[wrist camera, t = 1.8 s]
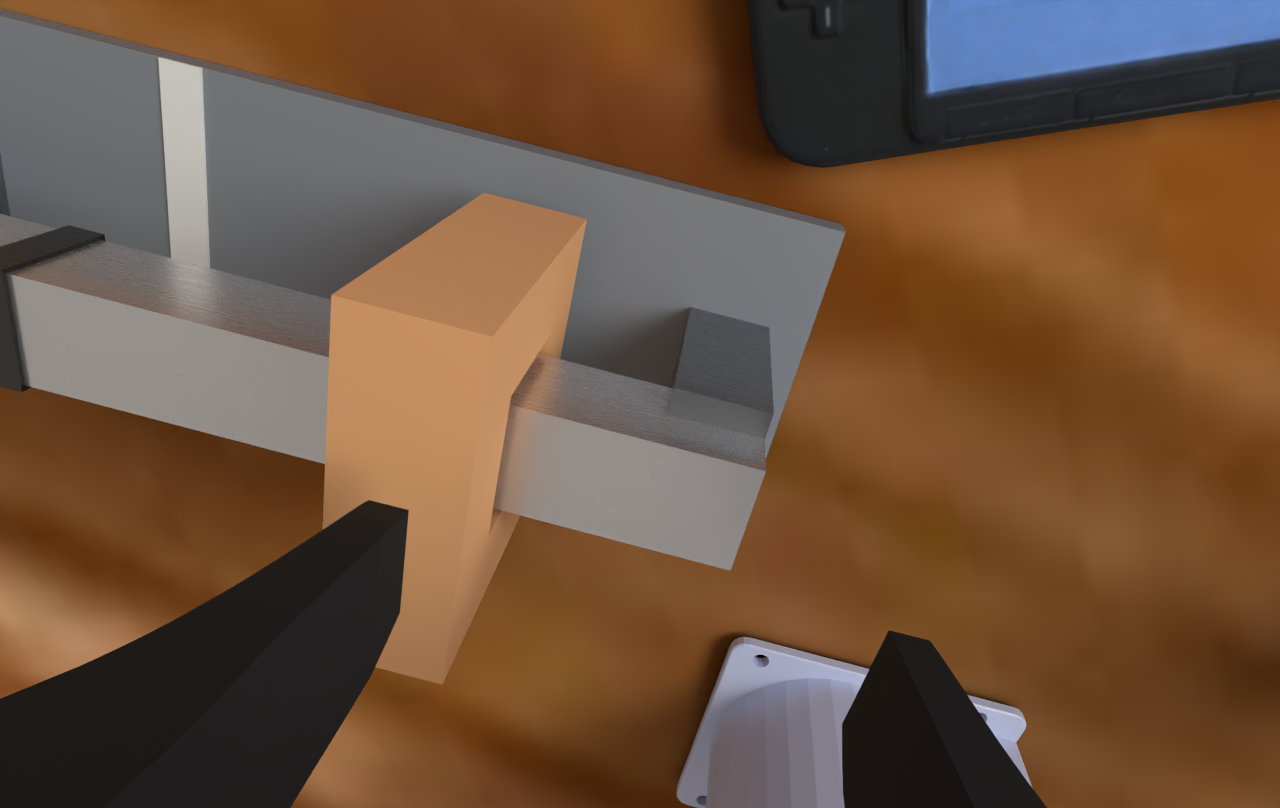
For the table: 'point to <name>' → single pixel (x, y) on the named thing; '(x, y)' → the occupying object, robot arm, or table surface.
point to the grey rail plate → (298, 388)
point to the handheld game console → (995, 69)
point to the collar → (443, 401)
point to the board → (378, 195)
